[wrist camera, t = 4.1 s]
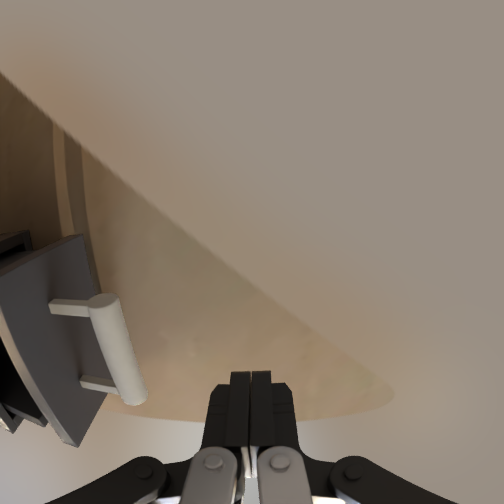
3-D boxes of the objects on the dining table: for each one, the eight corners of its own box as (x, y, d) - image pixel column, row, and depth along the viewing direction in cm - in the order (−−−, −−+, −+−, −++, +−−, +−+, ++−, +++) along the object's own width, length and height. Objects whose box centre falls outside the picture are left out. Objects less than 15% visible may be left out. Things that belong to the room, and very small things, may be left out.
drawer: (143, 228, 15) (58, 283, 7) (174, 376, 18) (143, 466, 10) (-16, 245, 15) (-78, 277, 8) (18, 350, 18) (-26, 397, 11)
